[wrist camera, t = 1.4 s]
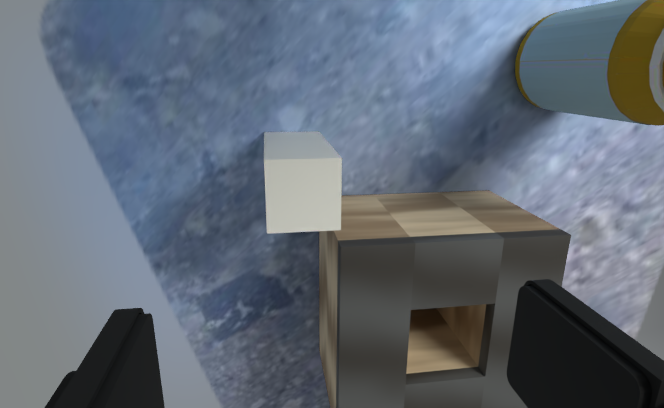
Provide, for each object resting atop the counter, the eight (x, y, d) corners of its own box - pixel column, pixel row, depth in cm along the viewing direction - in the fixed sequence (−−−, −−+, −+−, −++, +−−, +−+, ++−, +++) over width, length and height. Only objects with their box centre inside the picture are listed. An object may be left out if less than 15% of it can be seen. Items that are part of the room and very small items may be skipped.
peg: (264, 132, 31) (263, 159, 22) (318, 131, 32) (342, 158, 22) (266, 185, 32) (266, 233, 23) (319, 183, 33) (340, 230, 24)
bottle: (508, 113, 34) (687, 146, 19) (511, 16, 31) (715, -26, 17) (590, 103, 34) (819, 128, 20) (599, 8, 32) (863, -39, 18)
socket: (319, 196, 33) (340, 247, 24) (488, 190, 35) (570, 235, 26) (319, 350, 37) (337, 446, 28) (471, 337, 39) (536, 422, 30)
